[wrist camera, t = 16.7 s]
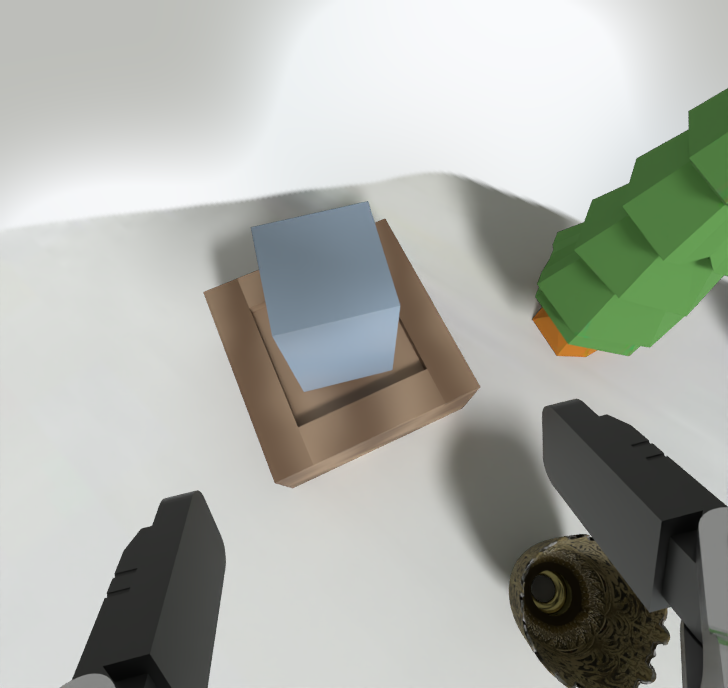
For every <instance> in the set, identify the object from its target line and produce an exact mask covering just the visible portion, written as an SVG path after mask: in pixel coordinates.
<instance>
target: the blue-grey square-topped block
mask: <svg viewBox="0 0 728 688" xmlns="http://www.w3.org/2000/svg"><path fill="white" fill-rule="evenodd" d="M251 231H252V236H253V241H254V246H255V251H256V256H257V261H258V266H259V271H260V277H261V282H262V287H263V292H264V297H265V302H266V307H267V312H268V318H269V323H270V328H271V333H272V337H273V339H274V340H275V342H276V344H277V346H278V347H279V349H280V351H281V353H282V354H283V356H284V358H285V360H286V361H287V363H288V365H289V367H290V369H291V370H292V372H293V374H294V376H295V377H296V379H297V381H298V383H299V384H300V386H301V388H302V390H303V391H304V392H306V391H310V390H314V389H319V388H323V387H327V386H331V385H335V384H339V383H343V382H347V381H351V380H355V379H359V378H363V377H367V376H371V375H375V374H379V373H383V372H387V371H391V370H392V369H393V361H394V353H395V345H396V337H397V329H398V321H399V312H400V303H399V300H398V296H397V293H396V290H395V287H394V283H393V280H392V277H391V274H390V271H389V267H388V264H387V261H386V258H385V254H384V251H383V248H382V245H381V242H380V238H379V235H378V232H377V229H376V225H375V222H374V219H373V216H372V212H371V209H370V206H369V203H368V201H367V202H362V203H358V204H353V205H349V206H345V207H340V208H336V209H331V210H327V211H322V212H318V213H313V214H309V215H304V216H300V217H295V218H291V219H286V220H282V221H277V222H273V223H268V224H264V225H259V226H255V227H251Z"/></svg>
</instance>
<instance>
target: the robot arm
mask: <svg viewBox="0 0 728 688" xmlns="http://www.w3.org/2000/svg"><path fill="white" fill-rule="evenodd" d="M542 430H543V462H544V466H545V470H546V473H547V475H548V477H549V479H550V481H551V483H552V484H553V486H554V487H555V489H556V490H557V491H558V493H559V494H560V495H561V497H562V498H563V499H564V500H565V502H566V503H567V504H568V506H569V507H570V508H571V510H572V511H573V512H574V514H575V515H576V516H577V518H578V519H579V520H580V522H581V523H582V524H583V526H584V527H585V528H586V530H587V531H588V532H589V533H590V535H591V536H592V537H593V539H594V540H595V541H596V543H597V544H598V545H599V547H600V548H601V549H602V551H603V552H604V553H605V555H606V556H607V557H608V559H609V560H610V561H611V563H612V564H613V565H614V566H615V568H616V569H617V570H618V572H619V573H620V574H621V576H622V577H623V578H624V580H625V581H626V582H627V584H628V585H629V586H630V588H631V589H632V590H633V592H634V593H635V594H636V596H637V597H638V598H639V599H640V601H641V602H642V603H643V605H644V606H645V607H646V609H647V610H648V611H649V613H650V612H654V611H657V610H661V609H665V608H668V607H672V609H673V610H674V611H675V612H676V614H677V615H678V616H679V617H680V618H681V624H680V641H681V662H682V683H683V688H728V506H726V505H725V504H724V503H723V502H721V501H720V500H719V499H718V498H717V497H715V496H714V495H713V494H712V493H711V492H710V491H708V490H707V489H706V488H705V487H704V486H702V485H701V484H700V483H699V482H698V481H696V480H695V479H694V478H693V477H692V476H691V475H689V474H688V473H687V472H686V471H685V470H683V469H682V468H681V467H680V466H679V465H677V464H676V463H675V462H674V461H673V460H672V459H670V458H669V457H668V456H667V457H665V456H664V453H663V452H662V451H661V450H660V449H659V448H657V447H656V446H655V445H654V444H653V443H652V444H650V443H649V440H648V439H647V438H645V437H644V436H643V435H642V434H641V433H640V432H638V431H637V430H636V429H635V428H634V427H632V426H631V425H629V424H627V423H625V422H623V421H620V420H618V419H616V418H614V417H612V416H609V415H603V416H598V415H597V414H596V413H595V412H594V411H592V410H591V409H590V408H589V407H588V406H587V405H586V404H585V403H584V402H582V401H581V400H579V399H573V400H569V401H565V402H561V403H557V404H553V405H549V406H545V407H544V409H543V412H542ZM225 566H226V556H225V548H224V543H223V540H222V537H221V535H220V532H219V530H218V528H217V526H216V523H215V521H214V519H213V517H212V514H211V512H210V510H209V508H208V505H207V503H206V501H205V499H204V496H203V495H202V493H201V492H200V491H193V492H189V493H185V494H181V495H177V496H173V497H169V498H165V499H163V500H162V501H161V503H160V505H159V508H158V511H157V514H156V516H155V519H154V522H153V525H152V526H150V527H146V528H142V529H141V530H140V531H139V532H138V533H137V535H136V536H135V537H134V539H133V540H132V541H131V542H130V544H129V545H128V546H127V547H126V549H125V550H124V551H123V554H122V556H121V559H120V561H119V564H118V566H117V569H116V571H115V578H113V579H112V581H111V584H110V586H109V589H108V591H107V598H105V599H104V601H103V604H102V606H101V609H100V611H99V614H98V616H97V619H96V621H95V624H94V626H93V629H92V631H91V634H90V636H89V639H88V641H87V644H86V646H85V649H84V651H83V654H82V656H81V659H80V661H79V664H78V666H77V669H76V671H75V674H74V676H73V678H72V680H71V681H70V682H68V683H66V684H65V685H63V686H62V687H60V688H208V681H209V674H210V667H211V661H212V654H213V647H214V641H215V634H216V627H217V620H218V614H219V607H220V600H221V594H222V587H223V580H224V573H225Z"/></svg>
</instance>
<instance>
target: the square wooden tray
mask: <svg viewBox="0 0 728 688" xmlns="http://www.w3.org/2000/svg"><path fill="white" fill-rule="evenodd" d="M375 225H376V229H377V232H378V235H379V238H380V242H381V245H382V248H383V251H384V254H385V258H386V261H387V264H388V267H389V271H390V274H391V277H392V280H393V283H394V287H395V290H396V293H397V296H398V300H399V303H400V312H399V321H398V329H397V337H396V345H395V353H394V361H393V369H392V370H391V371H387V372H383V373H379V374H375V375H371V376H367V377H363V378H359V379H355V380H351V381H347V382H343V383H339V384H335V385H331V386H327V387H323V388H319V389H314V390H310V391H306V392H304V391H303V390H302V388H301V386H300V384H299V383H298V381H297V379H296V377H295V376H294V374H293V372H292V370H291V369H290V367H289V365H288V363H287V361H286V360H285V358H284V356H283V354H282V353H281V351H280V349H279V347H278V346H277V344H276V342H275V340H274V339H273V337H272V333H271V328H270V323H269V318H268V312H267V307H266V302H265V297H264V292H263V287H262V282H261V277H260V271H259V270H257V271H254V272H252V273H250V274H247V275H245V276H242V277H240V278H237V279H235V280H232V281H230V282H227V283H225V284H222V285H220V286H217V287H215V288H212V289H210V290H207V291H205V292H203V293H204V295H205V298H206V301H207V303H208V306H209V309H210V311H211V314H212V317H213V319H214V322H215V325H216V327H217V330H218V333H219V335H220V338H221V341H222V343H223V346H224V349H225V351H226V354H227V357H228V359H229V362H230V365H231V367H232V370H233V373H234V375H235V378H236V381H237V383H238V386H239V389H240V391H241V394H242V397H243V399H244V402H245V405H246V407H247V410H248V413H249V415H250V418H251V421H252V423H253V426H254V429H255V431H256V434H257V437H258V439H259V442H260V445H261V447H262V450H263V453H264V455H265V458H266V461H267V463H268V466H269V469H270V471H271V474H272V477H273V479H274V482H275V483H276V484H280V485H283V486H287V487H290V488H294V487H297V486H299V485H301V484H303V483H305V482H307V481H309V480H311V479H314V478H316V477H318V476H320V475H322V474H324V473H326V472H328V471H330V470H333V469H335V468H337V467H339V466H341V465H343V464H345V463H347V462H350V461H352V460H354V459H356V458H358V457H360V456H362V455H364V454H366V453H369V452H371V451H373V450H375V449H377V448H379V447H381V446H383V445H386V444H388V443H390V442H392V441H394V440H396V439H398V438H400V437H403V436H405V435H407V434H409V433H411V432H413V431H415V430H417V429H419V428H422V427H424V426H426V425H428V424H430V423H432V422H434V421H436V420H439V419H441V418H443V417H445V416H447V415H449V414H451V413H453V412H456V411H458V410H460V409H462V408H463V407H464V406H465V404H466V403H467V402H468V401H469V400H470V399H471V397H472V396H473V395H474V394H475V393H476V391H477V390H478V389H479V388H480V385H479V384H478V382H477V380H476V378H475V377H474V375H473V373H472V371H471V370H470V368H469V366H468V364H467V362H466V361H465V359H464V357H463V355H462V354H461V352H460V350H459V348H458V347H457V345H456V343H455V341H454V339H453V338H452V336H451V334H450V332H449V331H448V329H447V327H446V325H445V324H444V322H443V320H442V318H441V316H440V315H439V313H438V311H437V309H436V308H435V306H434V304H433V302H432V301H431V299H430V297H429V295H428V293H427V292H426V290H425V288H424V286H423V285H422V283H421V281H420V279H419V278H418V276H417V274H416V272H415V270H414V269H413V267H412V265H411V263H410V262H409V260H408V258H407V256H406V255H405V253H404V251H403V249H402V247H401V246H400V244H399V242H398V240H397V239H396V237H395V235H394V233H393V232H392V230H391V228H390V226H389V224H388V223H387V221H386V219H383V220H381V221H378V222H376V223H375Z"/></svg>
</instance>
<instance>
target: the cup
mask: <svg viewBox="0 0 728 688" xmlns="http://www.w3.org/2000/svg"><path fill="white" fill-rule="evenodd" d="M589 536H590V535H586V534H579V535H571V536H564V537H559V538H554V539H550V540H546V541H543V542H540V543H538V544H536V545H534V546H532V547H531V548H529V549H528V550H527V551H525V552H524V553H523V554H522V555H521V557H520V558H519V559H518V561H517V562H516V564H515V566H514V568H513V570H512V573H511V577H510V582H509V600H510V605H511V610H512V613H513V616H514V618H515V621H516V623H517V625H518V627H519V629H520V631H521V633H522V635H523V636H524V638H525V639H526V641H527V642H528V644H529V645H530V647H531V649H532V651H533V652H534V653H535V654H536V656H537V657H538V659H539V660H540V662H541V663H542V664H543V665H544V666H545V668H546V669H547V670H548V671H549V672H550V673H551V674H552V675H553V676H554V677H555V676H556V677H555V678H557V679H558V680H559V681H560V682H561V683H562V684H564V685H565V686H566V687H568V688H576V687H578V688H638V686H639V685H640V683H642V684H650V683H652V682H654V681H655V680H656V672H655V670H654V668H653V666H651V664H650V666H649V663H650V661H651V659H652V658H654V657H655V656H656V652H655V649H656V646H657V645H658V644H663V645H667V644H668V642H669V640H670V634H669V632H668V630H667V629H666V627H665V626H664V625H663V624H664V621H665V620H666V618H667V608H665V609H661V610H657V611H654V612H650V613H649V611H648V610H647V609H646V607H645V606H644V605H643V603H642V602H641V601H640V599H639V598H638V597H637V596H636V594H635V593H634V592H633V590H632V589H631V588H630V586H629V585H628V584H627V582H626V581H625V580H624V578H623V577H622V576H621V574H620V573H619V572H618V570H617V569H616V568H615V566H614V565H613V564H612V563H611V561H610V560H609V559H608V557H607V556H606V555H605V553H604V552H603V551H602V549H601V548H600V547H599V545H598V544H597V543H596V541H595V540H594V539H593V537H589ZM539 575H544V576H547V577H548V578H550V579H551V581H552V582H553V584H554V586H555V595H554V597H553V599H552V600H551V601H549V602H540V601H538V600H537V599H535V598H534V596H533V595H532V593H531V586H532V582H533V580H534V578H535V577H536V576H539ZM652 669H653V670H652Z"/></svg>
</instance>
